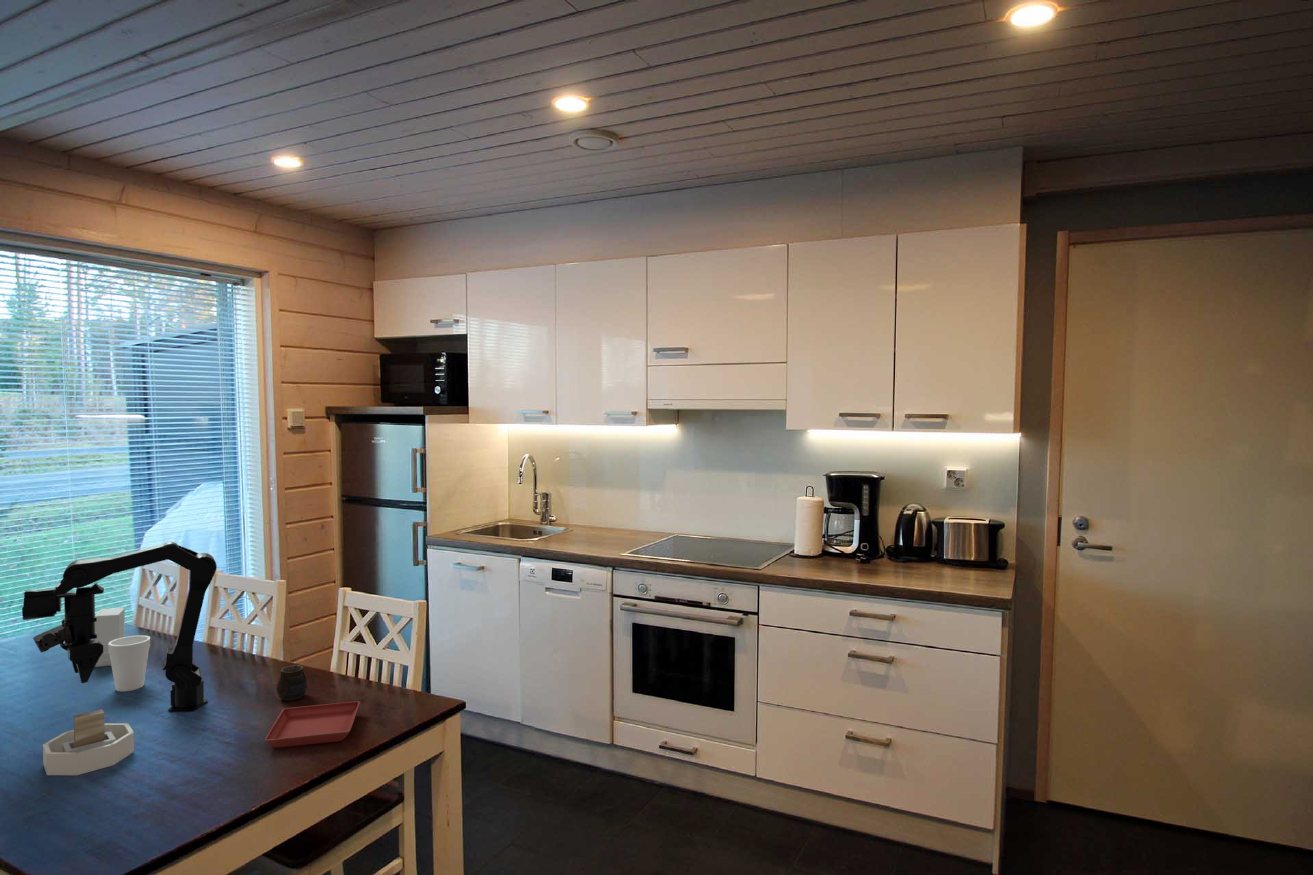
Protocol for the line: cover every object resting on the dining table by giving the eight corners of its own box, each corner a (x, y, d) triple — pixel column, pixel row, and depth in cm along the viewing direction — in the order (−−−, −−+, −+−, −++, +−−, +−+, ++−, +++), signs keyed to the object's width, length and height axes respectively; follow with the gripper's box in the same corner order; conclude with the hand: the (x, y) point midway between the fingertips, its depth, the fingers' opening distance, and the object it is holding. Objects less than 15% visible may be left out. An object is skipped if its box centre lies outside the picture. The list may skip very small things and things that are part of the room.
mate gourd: (299, 690, 198) (300, 654, 198) (312, 697, 194) (313, 660, 193) (272, 697, 193) (272, 660, 192) (285, 705, 188) (285, 667, 188)
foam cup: (159, 681, 203) (158, 636, 203) (132, 694, 194) (131, 646, 194) (128, 680, 204) (127, 634, 204) (99, 692, 195) (99, 645, 195)
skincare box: (100, 658, 221) (99, 608, 221) (126, 656, 224) (126, 606, 223) (92, 667, 214) (91, 615, 213) (119, 664, 216) (119, 613, 216)
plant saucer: (263, 753, 162) (263, 739, 162) (283, 720, 180) (282, 707, 180) (350, 744, 167) (350, 730, 167) (360, 713, 184) (360, 700, 184)
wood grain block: (104, 752, 160) (104, 712, 159) (76, 760, 156) (75, 719, 156) (102, 748, 161) (102, 709, 161) (74, 756, 158) (73, 715, 157)
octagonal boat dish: (138, 758, 159) (138, 737, 159) (49, 782, 148) (49, 761, 148) (124, 736, 169) (123, 717, 169) (40, 757, 158) (40, 737, 158)
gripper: (30, 612, 174) (32, 676, 174) (41, 628, 161) (42, 697, 162) (89, 603, 182) (90, 664, 182) (103, 618, 169) (104, 684, 170)
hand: (81, 677), depth 174 cm, fingers open, 9 cm apart
